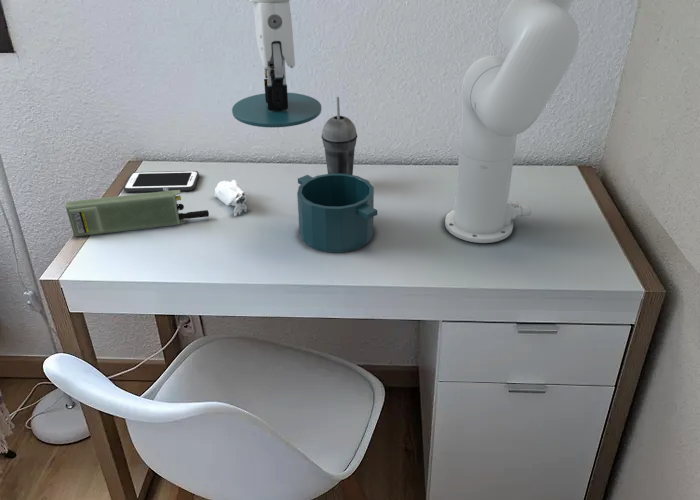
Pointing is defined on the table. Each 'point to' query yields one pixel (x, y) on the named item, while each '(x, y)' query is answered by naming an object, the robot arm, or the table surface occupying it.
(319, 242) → the teal cooking pot
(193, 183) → the cell phone
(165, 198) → the handheld radio
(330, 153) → the beverage cup
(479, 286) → the table surface
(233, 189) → the white tied bag
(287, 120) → the lid
